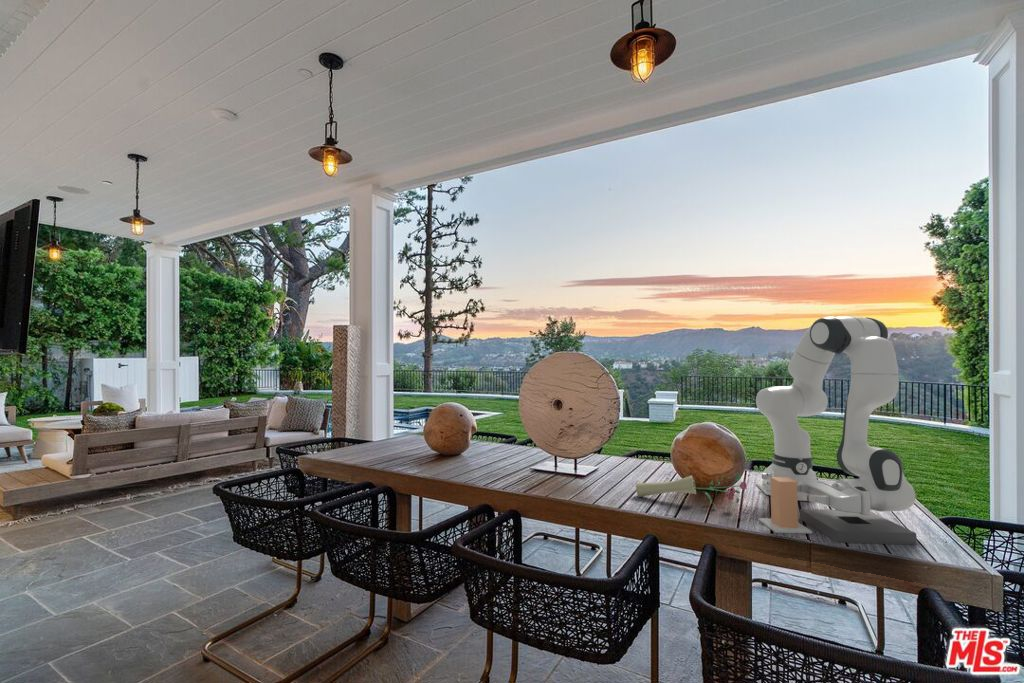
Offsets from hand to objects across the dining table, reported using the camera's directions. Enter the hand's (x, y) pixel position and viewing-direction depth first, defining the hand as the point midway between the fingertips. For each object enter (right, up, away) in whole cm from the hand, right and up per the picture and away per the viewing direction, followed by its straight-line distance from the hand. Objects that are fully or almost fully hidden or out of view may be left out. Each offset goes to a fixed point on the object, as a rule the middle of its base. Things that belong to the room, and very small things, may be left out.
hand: (799, 493), depth 135 cm
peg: (-4, -9, 0) cm, 10 cm away
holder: (+13, -9, -3) cm, 17 cm away
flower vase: (-24, -11, +21) cm, 33 cm away
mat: (-4, -10, 0) cm, 11 cm away
